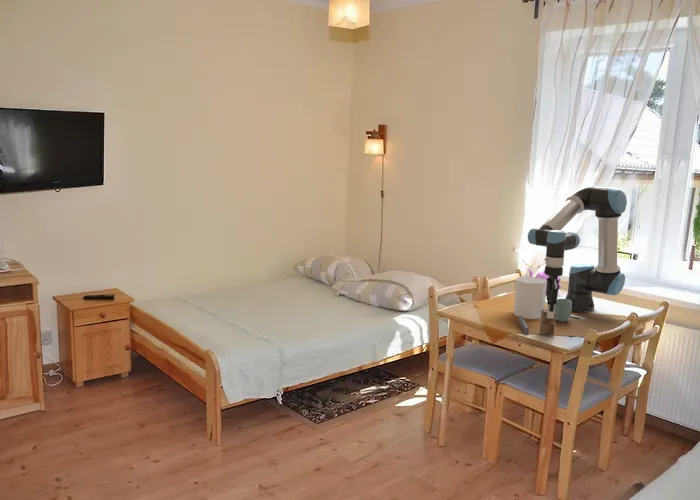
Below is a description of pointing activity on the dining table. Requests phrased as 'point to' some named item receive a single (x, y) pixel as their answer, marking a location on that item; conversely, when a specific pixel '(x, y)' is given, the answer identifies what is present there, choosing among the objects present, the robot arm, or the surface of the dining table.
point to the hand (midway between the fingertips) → (550, 317)
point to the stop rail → (523, 325)
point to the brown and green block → (547, 324)
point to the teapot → (543, 277)
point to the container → (530, 297)
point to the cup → (563, 310)
